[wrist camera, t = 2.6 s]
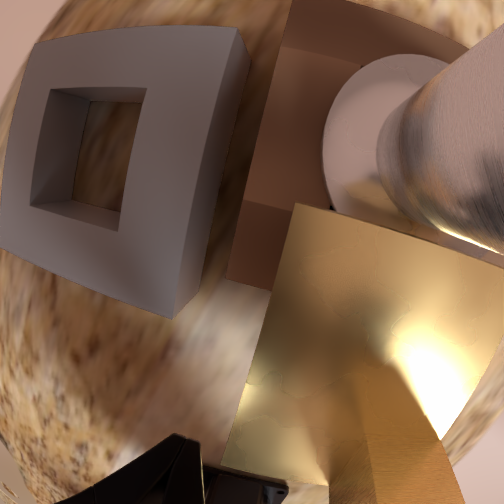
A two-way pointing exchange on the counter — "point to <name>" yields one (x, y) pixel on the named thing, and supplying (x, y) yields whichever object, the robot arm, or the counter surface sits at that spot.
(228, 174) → the counter surface
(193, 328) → the counter surface
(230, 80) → the grey square collar
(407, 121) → the steel pin
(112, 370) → the counter surface
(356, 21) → the walnut socket block
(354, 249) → the brass key
